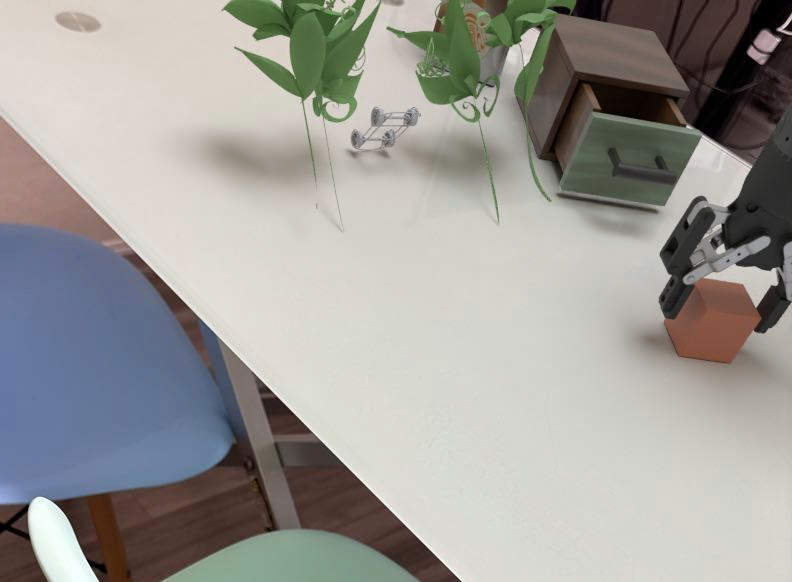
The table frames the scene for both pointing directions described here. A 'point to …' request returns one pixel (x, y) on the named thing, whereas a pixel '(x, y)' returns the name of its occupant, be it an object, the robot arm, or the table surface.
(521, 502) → the table surface
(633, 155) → the drawer
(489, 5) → the coffee box
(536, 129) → the cabinet
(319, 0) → the plant cuttings
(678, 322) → the block
